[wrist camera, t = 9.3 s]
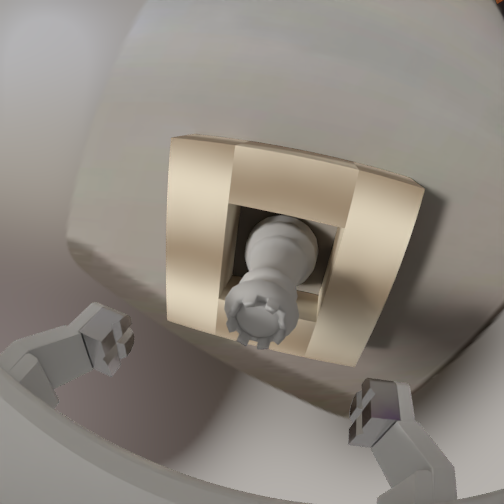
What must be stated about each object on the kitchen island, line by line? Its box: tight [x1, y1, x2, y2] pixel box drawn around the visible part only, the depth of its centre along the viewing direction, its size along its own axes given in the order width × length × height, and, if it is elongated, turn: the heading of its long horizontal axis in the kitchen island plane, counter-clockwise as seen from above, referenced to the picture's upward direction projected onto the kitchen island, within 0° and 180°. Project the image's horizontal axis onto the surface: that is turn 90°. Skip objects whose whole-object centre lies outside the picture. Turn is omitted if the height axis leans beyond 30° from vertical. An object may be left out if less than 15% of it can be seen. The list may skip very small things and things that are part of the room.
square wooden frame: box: [166, 134, 425, 367], centre depth 17 cm, size 12×13×3 cm
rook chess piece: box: [224, 215, 319, 349], centre depth 15 cm, size 4×4×8 cm
